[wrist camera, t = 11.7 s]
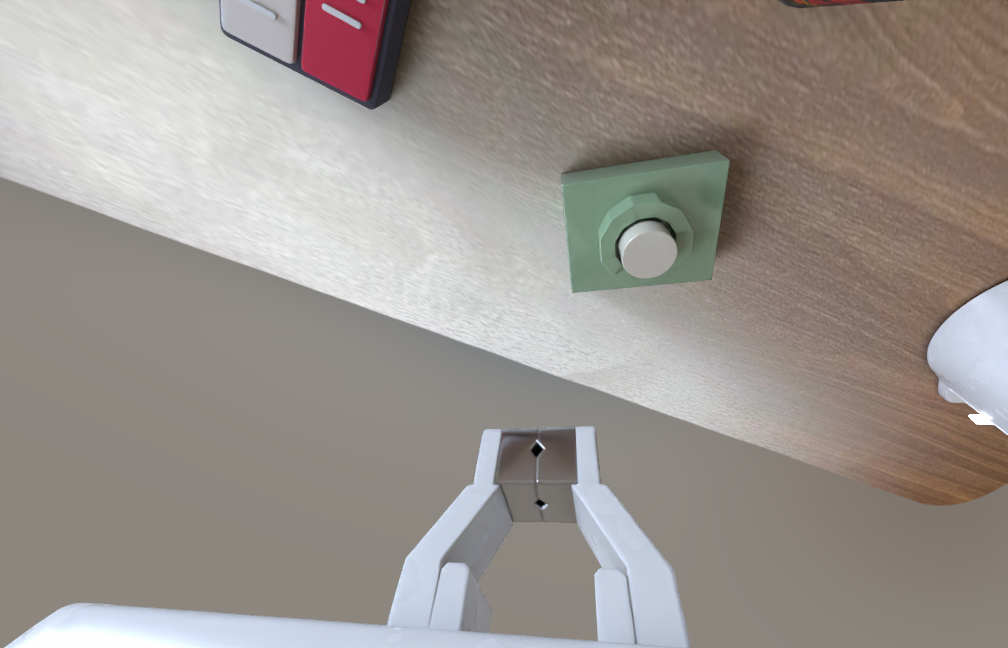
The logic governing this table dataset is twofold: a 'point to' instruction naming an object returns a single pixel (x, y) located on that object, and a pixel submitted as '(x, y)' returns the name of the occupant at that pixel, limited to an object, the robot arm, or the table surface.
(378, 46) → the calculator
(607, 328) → the table surface
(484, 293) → the table surface
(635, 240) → the grey button cap
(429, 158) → the table surface
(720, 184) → the grey button cap base
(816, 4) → the deodorant
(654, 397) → the table surface
